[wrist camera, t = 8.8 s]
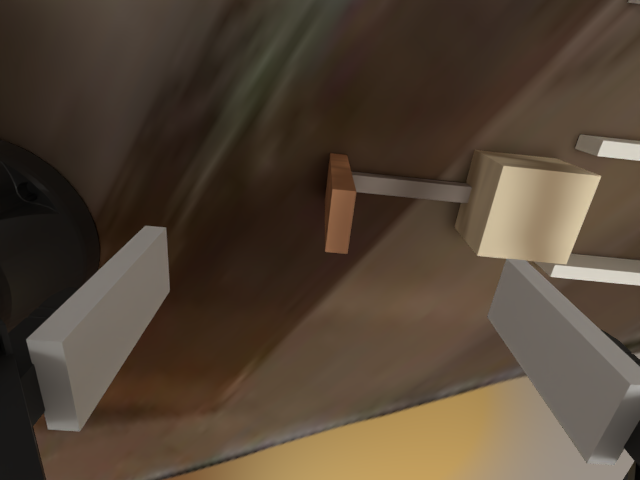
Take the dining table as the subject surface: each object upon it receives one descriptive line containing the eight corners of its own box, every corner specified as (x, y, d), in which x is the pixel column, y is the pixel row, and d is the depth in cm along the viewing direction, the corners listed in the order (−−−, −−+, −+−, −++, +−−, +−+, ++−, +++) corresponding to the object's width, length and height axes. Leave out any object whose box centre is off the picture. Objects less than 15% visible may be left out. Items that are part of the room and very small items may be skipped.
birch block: (323, 214, 30) (322, 272, 22) (332, 134, 28) (335, 164, 19) (530, 234, 31) (609, 299, 22) (556, 158, 28) (656, 197, 20)
